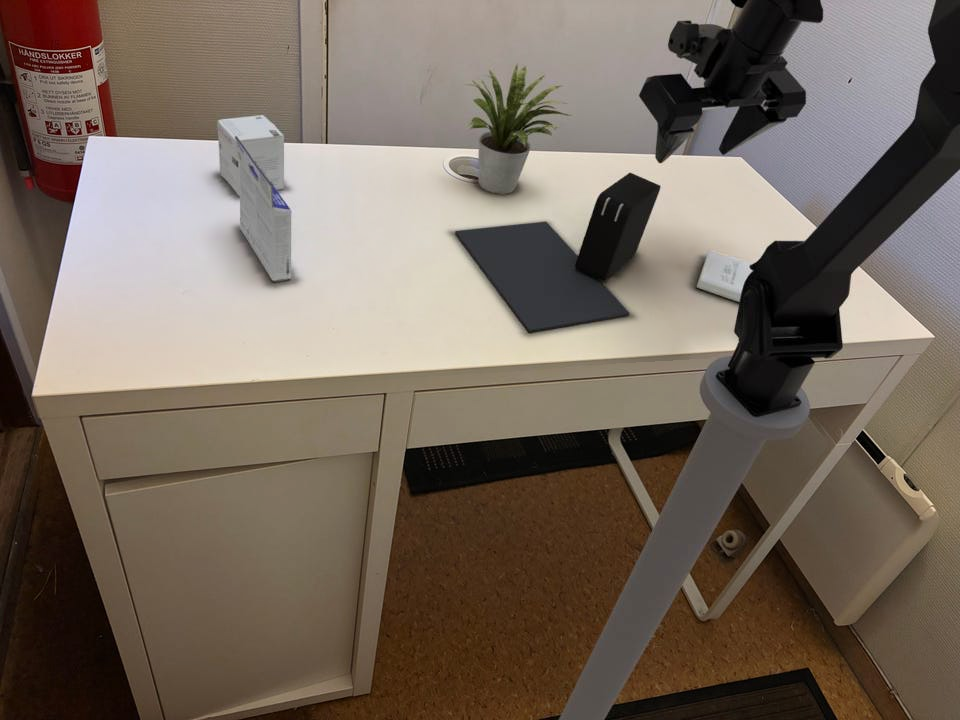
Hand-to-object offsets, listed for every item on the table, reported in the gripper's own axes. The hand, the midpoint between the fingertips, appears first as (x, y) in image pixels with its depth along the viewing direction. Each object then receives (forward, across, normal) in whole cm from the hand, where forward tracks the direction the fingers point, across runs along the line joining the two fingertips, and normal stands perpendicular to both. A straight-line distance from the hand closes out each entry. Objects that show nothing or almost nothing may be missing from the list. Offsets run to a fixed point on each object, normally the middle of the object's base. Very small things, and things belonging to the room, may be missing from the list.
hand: (690, 156), depth 88 cm
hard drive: (+11, -7, +13) cm, 19 cm away
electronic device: (+13, +9, +4) cm, 16 cm away
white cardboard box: (+18, +46, -22) cm, 54 cm away
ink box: (+14, +48, -6) cm, 50 cm away
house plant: (+18, +15, -15) cm, 28 cm away
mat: (+12, +18, +4) cm, 22 cm away
